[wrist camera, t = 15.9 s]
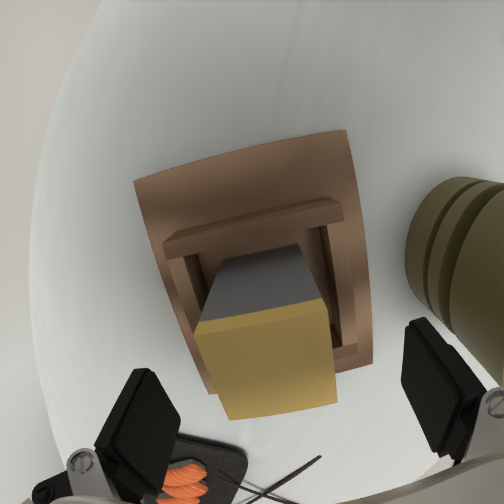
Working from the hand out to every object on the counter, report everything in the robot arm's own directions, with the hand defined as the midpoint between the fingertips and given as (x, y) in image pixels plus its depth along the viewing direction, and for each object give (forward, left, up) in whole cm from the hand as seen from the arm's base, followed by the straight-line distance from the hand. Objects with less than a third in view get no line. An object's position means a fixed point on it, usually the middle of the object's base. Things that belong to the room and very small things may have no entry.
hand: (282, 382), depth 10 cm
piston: (+2, +16, -11) cm, 19 cm away
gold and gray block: (+1, 0, -10) cm, 10 cm away
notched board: (+1, 0, -11) cm, 11 cm away
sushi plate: (+33, -11, -12) cm, 36 cm away
